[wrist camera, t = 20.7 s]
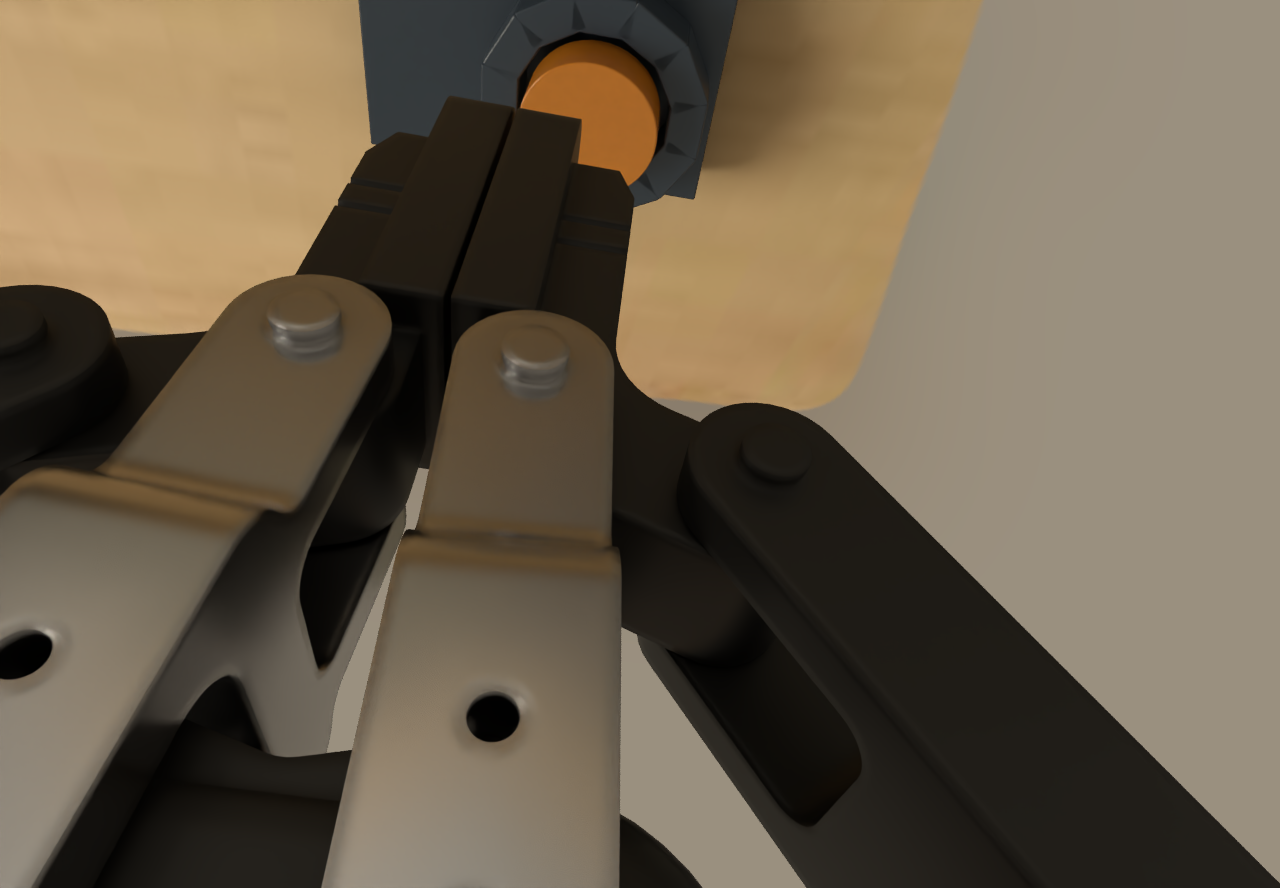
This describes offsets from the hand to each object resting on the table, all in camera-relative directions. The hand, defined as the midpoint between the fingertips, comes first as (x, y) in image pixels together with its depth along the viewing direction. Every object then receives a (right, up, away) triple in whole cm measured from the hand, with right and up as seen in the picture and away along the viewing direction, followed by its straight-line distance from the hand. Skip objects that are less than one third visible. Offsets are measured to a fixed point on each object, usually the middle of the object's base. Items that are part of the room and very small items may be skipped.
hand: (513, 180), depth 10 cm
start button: (0, +8, +18) cm, 19 cm away
